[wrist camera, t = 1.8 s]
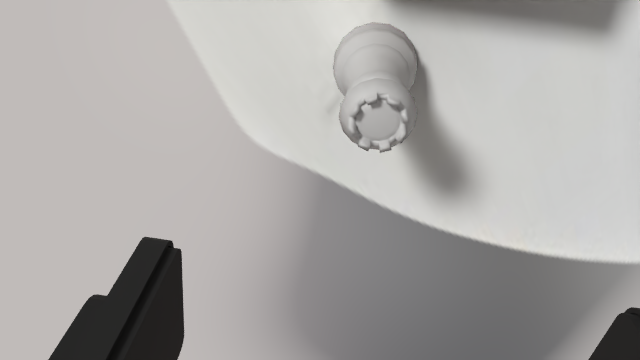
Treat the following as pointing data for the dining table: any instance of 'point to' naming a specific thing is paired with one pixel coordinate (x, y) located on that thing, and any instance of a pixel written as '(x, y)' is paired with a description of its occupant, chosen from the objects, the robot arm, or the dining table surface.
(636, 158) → the dining table surface
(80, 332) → the robot arm
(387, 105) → the rook chess piece
